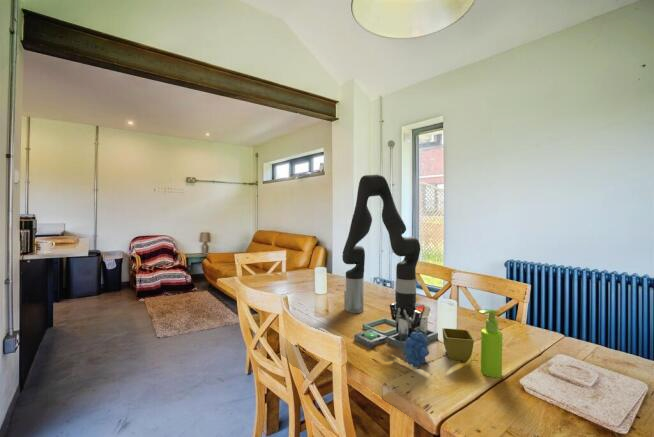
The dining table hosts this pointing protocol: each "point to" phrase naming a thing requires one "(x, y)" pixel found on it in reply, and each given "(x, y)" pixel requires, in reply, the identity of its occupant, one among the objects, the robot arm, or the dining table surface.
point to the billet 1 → (403, 329)
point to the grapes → (416, 349)
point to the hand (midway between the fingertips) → (405, 334)
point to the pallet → (397, 343)
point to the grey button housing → (370, 343)
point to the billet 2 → (423, 326)
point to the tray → (376, 322)
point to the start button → (370, 335)
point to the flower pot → (458, 344)
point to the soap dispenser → (491, 346)
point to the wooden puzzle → (421, 309)
